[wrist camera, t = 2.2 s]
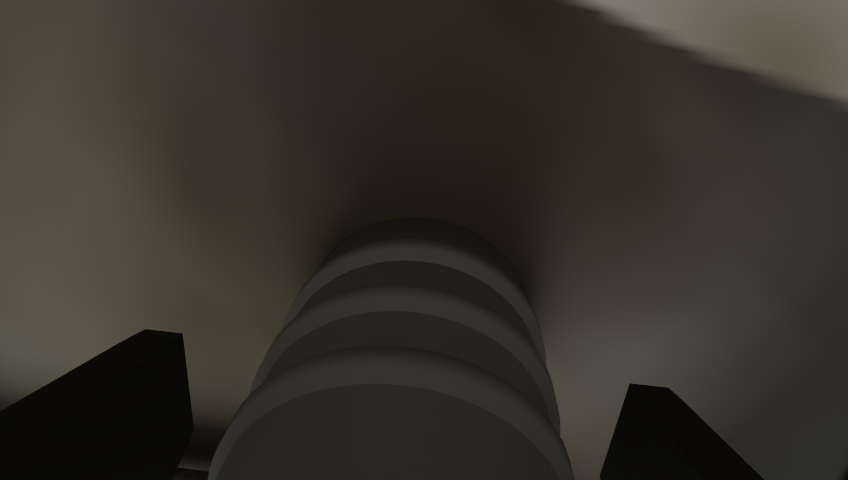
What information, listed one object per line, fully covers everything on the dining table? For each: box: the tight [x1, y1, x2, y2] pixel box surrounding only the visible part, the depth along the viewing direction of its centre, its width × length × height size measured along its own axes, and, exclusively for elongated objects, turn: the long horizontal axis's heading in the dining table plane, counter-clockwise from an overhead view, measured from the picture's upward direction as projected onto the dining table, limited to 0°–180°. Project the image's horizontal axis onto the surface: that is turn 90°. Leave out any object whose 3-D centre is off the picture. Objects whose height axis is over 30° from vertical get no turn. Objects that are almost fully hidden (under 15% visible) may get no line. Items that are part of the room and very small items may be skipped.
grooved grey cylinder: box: [208, 218, 574, 480], centre depth 9 cm, size 5×5×6 cm
